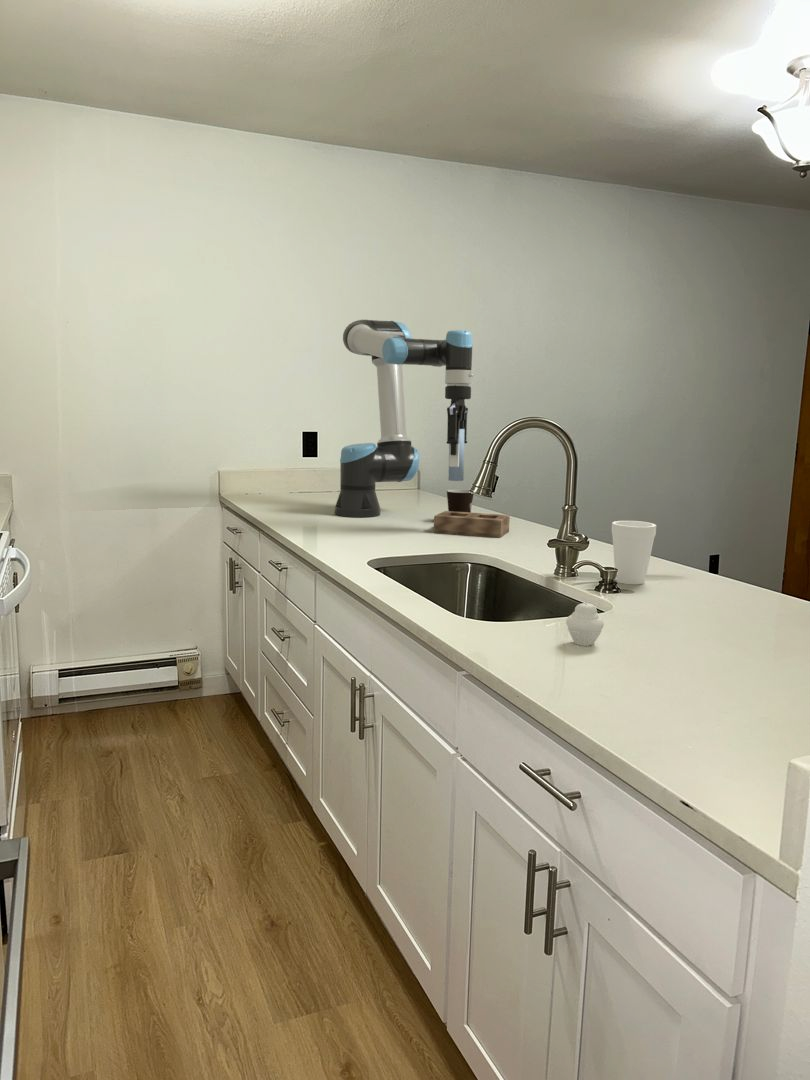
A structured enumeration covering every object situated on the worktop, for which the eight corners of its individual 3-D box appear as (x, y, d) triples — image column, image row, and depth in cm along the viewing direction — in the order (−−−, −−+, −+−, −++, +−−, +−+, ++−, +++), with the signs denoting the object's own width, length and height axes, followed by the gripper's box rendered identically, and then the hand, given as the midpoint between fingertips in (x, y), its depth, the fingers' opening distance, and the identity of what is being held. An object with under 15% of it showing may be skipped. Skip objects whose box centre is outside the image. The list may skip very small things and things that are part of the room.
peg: (446, 480, 249) (447, 429, 246) (450, 479, 253) (451, 428, 250) (461, 481, 247) (462, 429, 245) (465, 480, 251) (466, 429, 249)
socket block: (433, 532, 249) (434, 515, 248) (444, 526, 260) (445, 510, 259) (500, 537, 243) (501, 520, 242) (508, 531, 254) (509, 515, 253)
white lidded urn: (597, 638, 145) (599, 598, 143) (607, 648, 138) (609, 607, 137) (561, 637, 144) (563, 597, 143) (569, 648, 138) (571, 606, 137)
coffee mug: (463, 525, 265) (464, 493, 263) (440, 522, 270) (441, 490, 268) (482, 521, 274) (484, 490, 272) (460, 518, 279) (461, 488, 277)
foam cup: (600, 577, 192) (604, 521, 190) (634, 575, 196) (638, 520, 193) (625, 587, 184) (629, 528, 182) (660, 584, 187) (664, 526, 185)
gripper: (462, 384, 236) (460, 468, 240) (478, 386, 252) (476, 464, 256) (436, 384, 239) (435, 467, 242) (454, 386, 255) (452, 463, 259)
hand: (456, 465), depth 249 cm, fingers closed on peg, 4 cm apart
